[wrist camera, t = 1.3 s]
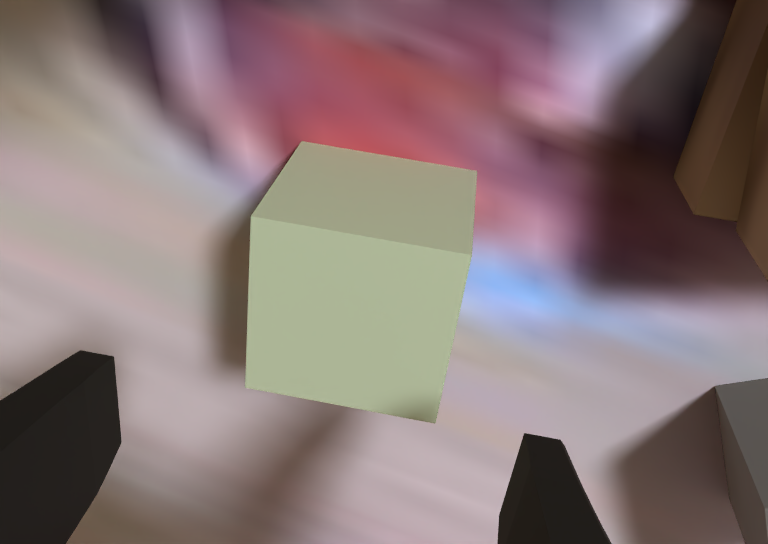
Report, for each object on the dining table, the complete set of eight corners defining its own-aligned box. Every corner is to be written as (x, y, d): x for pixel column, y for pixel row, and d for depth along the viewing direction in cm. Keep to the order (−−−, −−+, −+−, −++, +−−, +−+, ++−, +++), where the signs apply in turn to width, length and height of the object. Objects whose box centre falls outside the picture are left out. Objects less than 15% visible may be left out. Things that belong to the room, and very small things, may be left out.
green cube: (446, 316, 20) (435, 423, 17) (292, 288, 21) (245, 387, 17) (477, 169, 18) (471, 254, 14) (302, 140, 18) (250, 216, 15)
